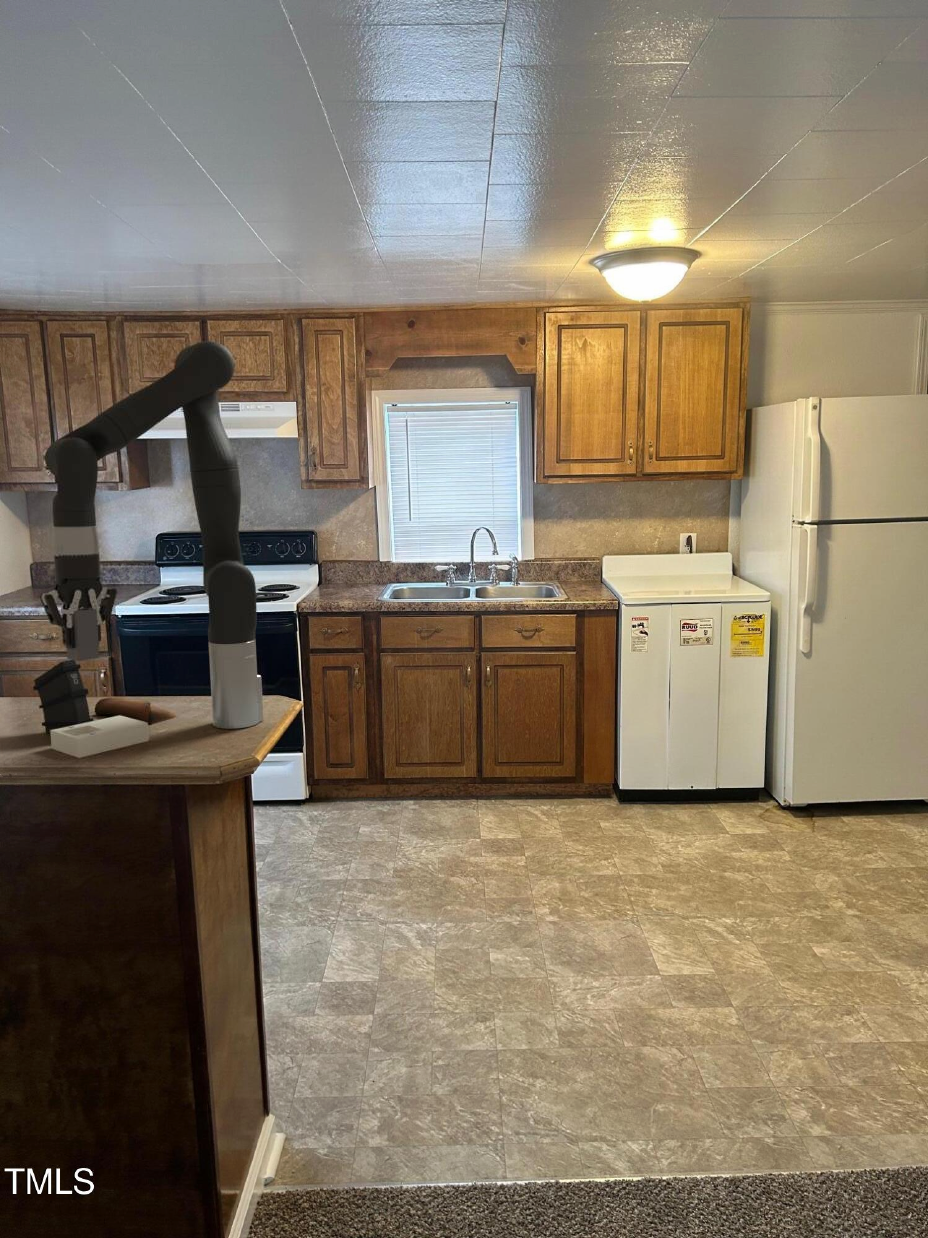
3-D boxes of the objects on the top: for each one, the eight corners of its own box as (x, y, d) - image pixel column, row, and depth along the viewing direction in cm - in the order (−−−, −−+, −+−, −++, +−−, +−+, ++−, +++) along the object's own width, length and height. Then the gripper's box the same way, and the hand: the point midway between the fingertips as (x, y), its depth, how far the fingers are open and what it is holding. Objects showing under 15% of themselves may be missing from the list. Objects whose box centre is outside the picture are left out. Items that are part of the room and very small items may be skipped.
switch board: (121, 732, 179) (119, 714, 178) (149, 740, 173) (147, 722, 172) (51, 748, 168) (50, 729, 168) (78, 758, 162) (77, 738, 161)
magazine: (87, 734, 171) (60, 661, 173) (51, 754, 179) (26, 684, 180) (104, 730, 175) (77, 658, 176) (68, 750, 182) (43, 681, 183)
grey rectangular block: (87, 655, 167) (85, 606, 166) (99, 658, 165) (96, 608, 163) (67, 658, 164) (64, 609, 163) (78, 661, 162) (75, 610, 160)
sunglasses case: (182, 716, 191) (167, 692, 188) (160, 739, 187) (144, 715, 183) (127, 706, 201) (112, 684, 197) (104, 728, 196) (89, 706, 193)
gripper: (102, 549, 169) (107, 639, 172) (27, 553, 158) (33, 649, 161) (124, 550, 165) (129, 643, 167) (48, 554, 154) (54, 654, 156)
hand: (82, 645), depth 164 cm, fingers closed on grey rectangular block, 4 cm apart
